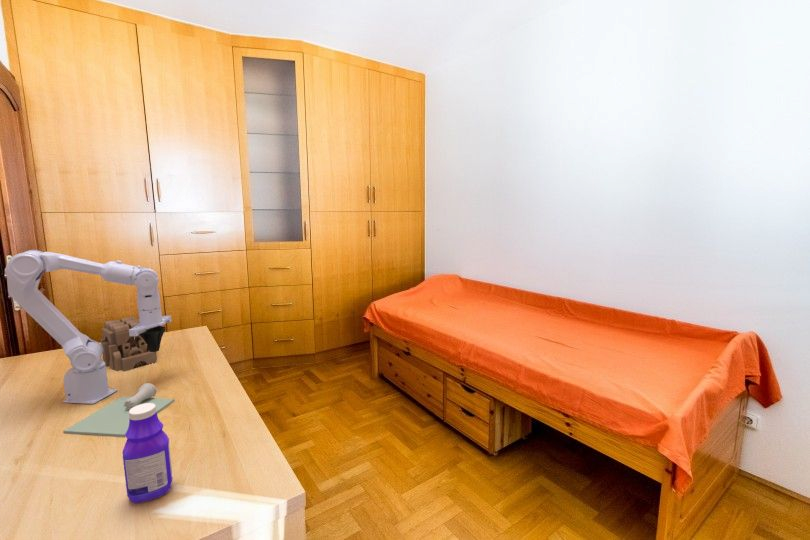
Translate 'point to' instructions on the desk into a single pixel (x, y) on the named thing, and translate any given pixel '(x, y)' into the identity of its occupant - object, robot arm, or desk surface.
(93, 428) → the mat
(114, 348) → the wooden puzzle
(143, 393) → the rook chess piece
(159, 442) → the bottle
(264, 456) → the desk surface
